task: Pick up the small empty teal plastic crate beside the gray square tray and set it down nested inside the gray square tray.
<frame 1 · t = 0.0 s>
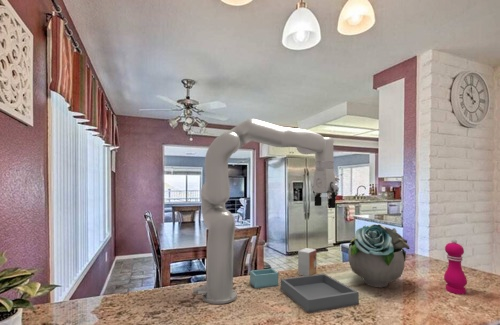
hand: (324, 206, 118), 31 cm above the countertop, tool pointing down, fingers open, 9 cm apart
pepper mill: (455, 291, 108), on the countertop
gray square tray: (317, 296, 102), on the countertop
small crate: (264, 284, 113), on the countertop
flower arrangement: (375, 284, 115), on the countertop
small box: (307, 274, 127), on the countertop
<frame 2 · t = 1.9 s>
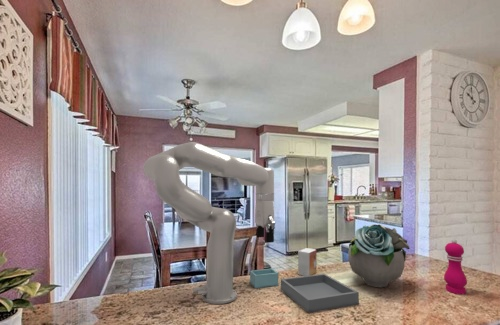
hand: (265, 239, 115), 18 cm above the countertop, tool pointing down, fingers open, 9 cm apart
nothing on the countertop moved.
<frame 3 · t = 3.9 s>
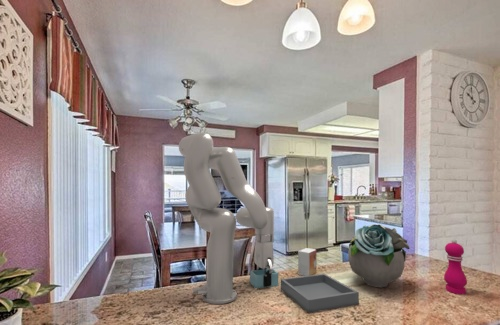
hand: (264, 282, 113), 1 cm above the countertop, tool pointing down, fingers closed on small crate, 6 cm apart
small crate: (264, 284, 113), on the countertop, touching gripper
everything else where it was.
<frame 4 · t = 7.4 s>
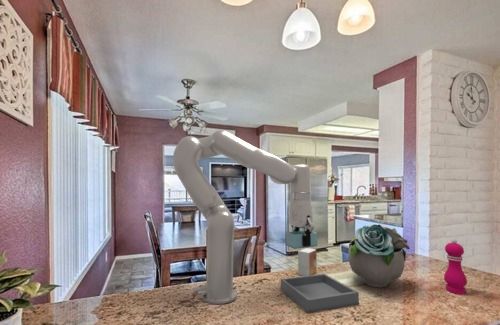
hand: (301, 243, 107), 18 cm above the countertop, tool pointing down, fingers closed on small crate, 6 cm apart
small crate: (301, 245, 107), point 17 cm above the countertop, touching gripper
everything else where it was.
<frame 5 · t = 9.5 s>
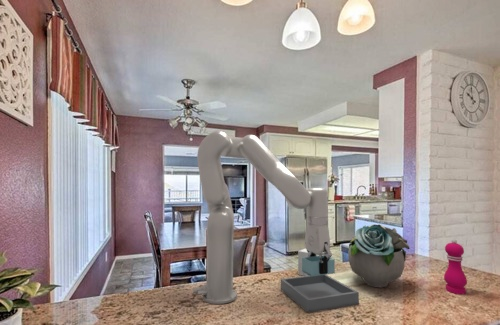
hand: (318, 270, 103), 9 cm above the countertop, tool pointing down, fingers closed on small crate, 6 cm apart
small crate: (318, 272, 103), point 9 cm above the countertop, touching gripper
everything else where it was.
when the fingers open (3 cm above the countertop, at t = 11.1 s): small crate drops 1 cm, resting on gray square tray.
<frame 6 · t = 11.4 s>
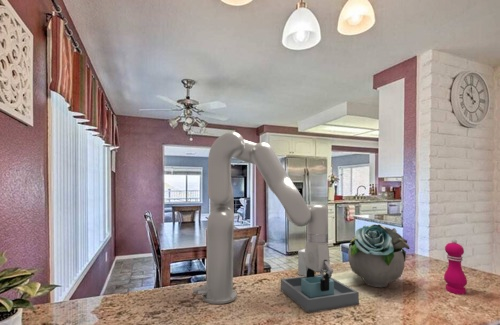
hand: (317, 285, 102), 4 cm above the countertop, tool pointing down, fingers open, 8 cm apart
small crate: (317, 293, 102), point 1 cm above the countertop, touching gray square tray
everything else where it was.
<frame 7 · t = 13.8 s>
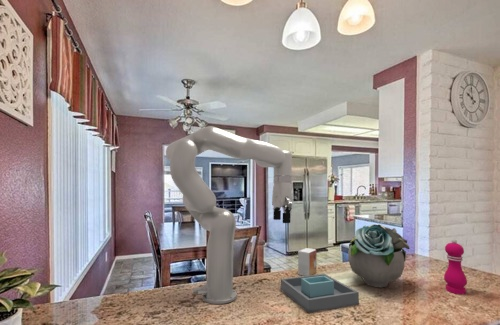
hand: (281, 221, 116), 25 cm above the countertop, tool pointing down, fingers open, 9 cm apart
nothing on the countertop moved.
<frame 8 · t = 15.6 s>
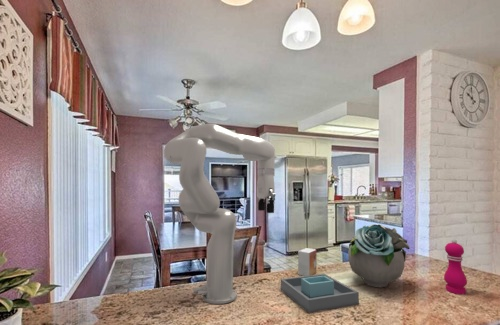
hand: (265, 211, 124), 28 cm above the countertop, tool pointing down, fingers open, 9 cm apart
nothing on the countertop moved.
at the end: small crate inside the target area on the gray square tray (0.0 cm from its centre), point 1.0 cm above the gray square tray's base; small crate tilted 0°; the gripper is holding nothing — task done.
